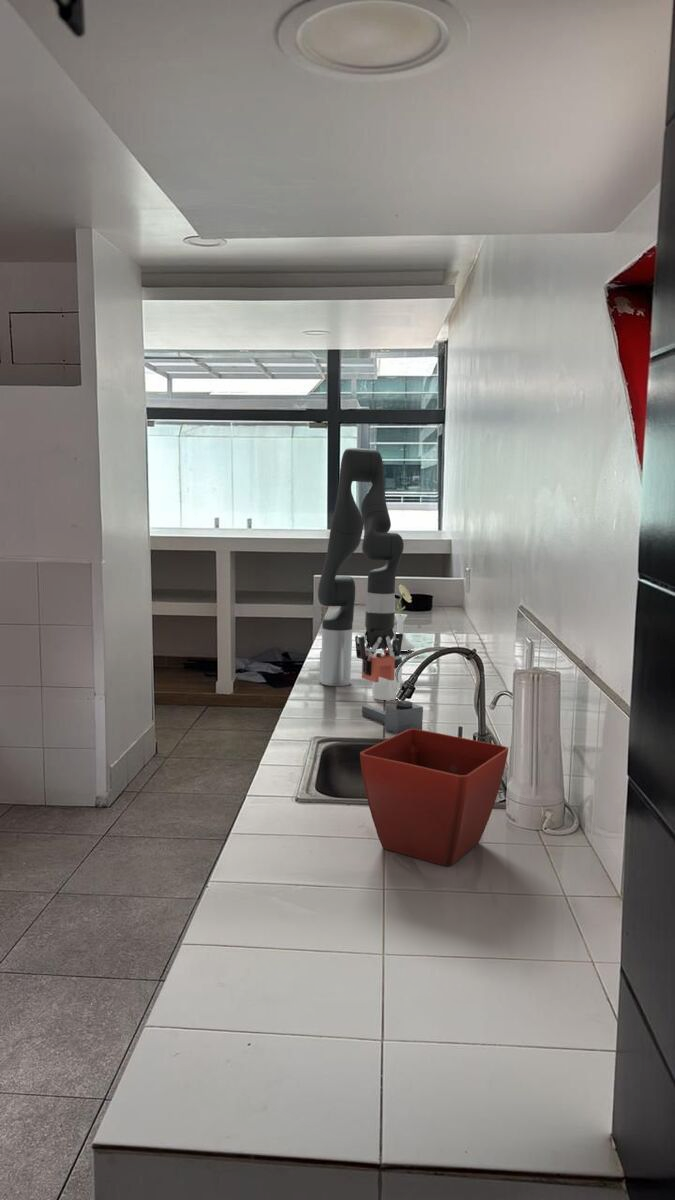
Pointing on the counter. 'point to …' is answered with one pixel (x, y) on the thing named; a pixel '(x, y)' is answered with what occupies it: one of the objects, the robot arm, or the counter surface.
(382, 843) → the plant pot
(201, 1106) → the counter surface
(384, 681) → the jar
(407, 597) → the flower in vase
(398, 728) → the coupler
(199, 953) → the counter surface
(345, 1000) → the counter surface
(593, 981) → the counter surface
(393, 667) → the notched red block
